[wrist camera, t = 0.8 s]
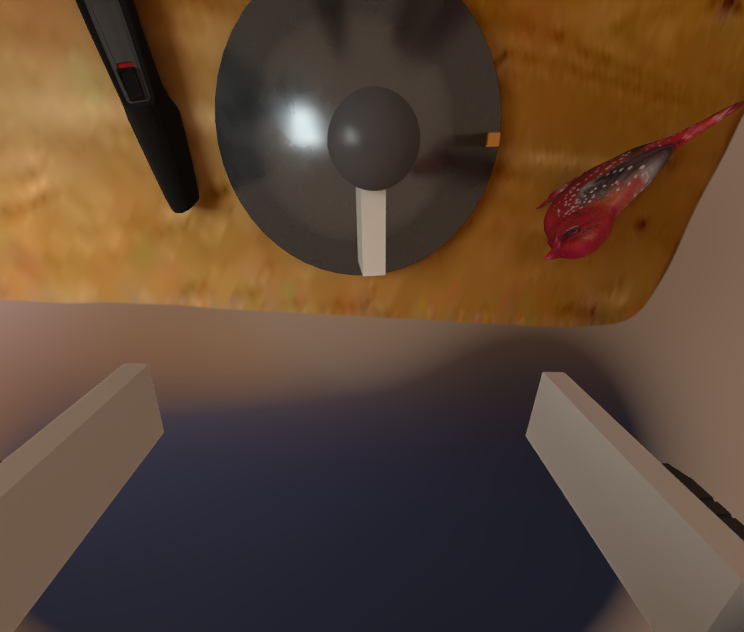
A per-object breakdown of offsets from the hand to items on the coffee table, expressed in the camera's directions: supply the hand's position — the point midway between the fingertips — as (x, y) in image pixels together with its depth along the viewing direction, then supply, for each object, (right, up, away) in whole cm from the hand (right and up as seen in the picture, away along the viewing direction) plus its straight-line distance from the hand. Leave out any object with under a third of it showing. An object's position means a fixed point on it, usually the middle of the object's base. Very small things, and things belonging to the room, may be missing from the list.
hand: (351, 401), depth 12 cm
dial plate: (0, +17, +16) cm, 24 cm away
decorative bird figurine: (+20, +16, +20) cm, 33 cm away
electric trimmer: (-15, +19, +14) cm, 28 cm away
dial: (0, +13, +16) cm, 21 cm away
